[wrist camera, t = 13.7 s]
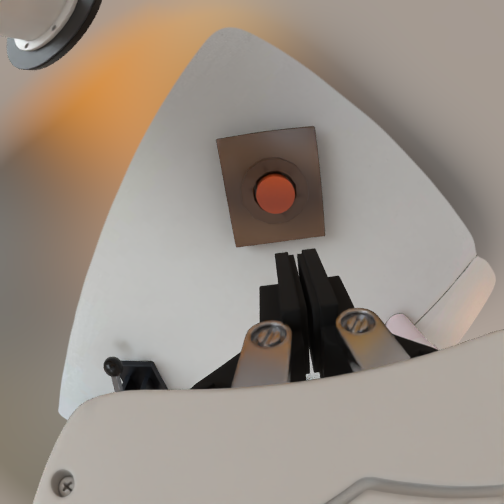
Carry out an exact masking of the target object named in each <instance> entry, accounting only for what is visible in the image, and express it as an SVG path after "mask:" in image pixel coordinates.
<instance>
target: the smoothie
mask: <svg viewBox="0 0 504 504" xmlns="http://www.w3.org/2000/svg"><path fill="white" fill-rule="evenodd" d="M386 327H387V328H388V329H389V330H390V332H391V333H392V334H395V335H398V336H400V337H403V338H406V339H409V340H412V341H415V342H418V343H421V344H424V345H427V346H430V347H433V348H435V349H437V347H436V346H435V345H433V344H431V343H430V342H429V341H428V340H427V339H426V338H425V337H424V336H423V334H422V333H421V332H420V331H419V330H418V329H417V328H416V327H415V326H414V324H413V323H412V322H411V321H410V320H409V319H408V318H407V317H406V316H405V315H404V314H396V315H394V316H392V317H391V318H390V319H389V320H388V321H387V323H386ZM437 350H438V349H437Z"/></svg>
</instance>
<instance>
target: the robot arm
mask: <svg viewBox="0 0 504 504" xmlns="http://www.w3.org/2000/svg"><path fill="white" fill-rule="evenodd" d="M77 2H78V0H0V36H2V37H8V38H14V40H15V44H16V46H17V47H18V48H19V49H21V50H23V51H34V50H37V49H39V48H41V47H43V46H44V45H46V44H47V43H48V42H50V41H51V40H52V39H53V38H54V37H55V36H56V35H57V34H58V33H59V32H60V31H61V29H62V28H63V27H64V25H65V24H66V23H67V21H68V20H69V18H70V17H71V15H72V13H73V11H74V9H75V7H76V4H77ZM297 259H298V270H299V275H298V271H297V267H296V263H295V259H294V255H288V252H284V253H276V254H275V260H276V268H277V276H278V284H275V285H267V286H260V323H257V324H256V325H254V326H252V327H251V328H250V329H249V330H248V332H247V334H246V336H245V340H244V343H243V347H242V350H241V352H240V353H239V354H237V355H236V356H235V357H233V358H232V359H231V360H229V361H228V362H226V363H225V364H224V365H222V366H221V367H219V368H218V369H217V370H215V371H214V372H212V373H211V374H209V375H208V376H207V377H205V378H204V379H202V380H201V381H199V382H198V383H196V384H195V385H194V386H193V387H192V388H191V389H177V390H128V391H121V392H113V393H109V394H105V395H101V396H98V397H95V398H92V399H90V400H88V401H86V402H84V403H83V404H81V405H80V406H79V407H78V408H77V409H76V410H75V411H74V412H73V414H72V415H71V416H70V418H69V419H68V421H67V423H66V424H65V426H64V428H63V429H62V431H61V433H60V435H59V437H58V439H57V441H56V443H55V446H54V448H53V450H52V452H51V454H50V457H49V459H48V461H47V464H46V467H45V469H44V472H43V475H42V478H41V480H40V483H39V486H38V489H37V493H36V495H35V499H34V502H33V504H504V329H503V330H499V331H495V332H491V333H488V334H486V335H483V336H480V337H478V338H474V339H471V340H468V341H465V342H462V343H460V344H457V345H454V346H451V347H448V348H445V349H442V350H437V349H435V348H433V347H430V346H427V345H424V344H421V343H418V342H415V341H412V340H409V339H406V338H403V337H400V336H398V335H395V334H392V333H391V332H390V330H389V329H388V328H387V327H386V325H385V324H384V323H383V322H382V320H381V319H380V318H379V317H378V315H376V314H375V313H374V312H372V311H370V310H368V309H364V308H354V306H353V304H352V301H351V299H350V297H349V295H348V293H347V291H346V289H345V287H344V285H343V283H342V281H341V279H340V277H339V276H333V277H327V274H326V272H325V270H324V267H323V265H322V263H321V261H320V258H319V256H318V254H317V251H316V249H315V248H314V249H306V250H302V254H297ZM309 349H310V354H311V359H312V365H313V370H314V373H316V372H319V373H320V379H313V380H306V374H309V373H310V362H309Z"/></svg>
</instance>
